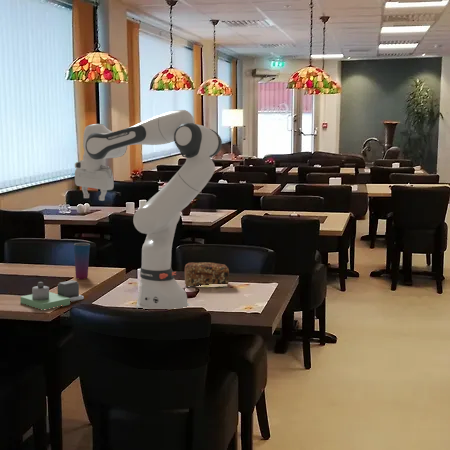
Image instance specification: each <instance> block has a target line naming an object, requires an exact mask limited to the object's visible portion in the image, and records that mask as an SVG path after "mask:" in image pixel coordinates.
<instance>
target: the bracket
mask: <svg viewBox="0 0 450 450" xmlns="http://www.w3.org/2000/svg"><path fill="white" fill-rule="evenodd" d="M69 298H70V301H71V302H76V301H81V300H84V298H85V297H84V295H82V294H79V295H78V296H74V297H69ZM71 302H70V303H71Z"/></svg>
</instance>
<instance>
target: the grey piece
mask: <svg viewBox="0 0 450 450" xmlns="http://www.w3.org/2000/svg"><path fill="white" fill-rule="evenodd" d="M57 294H58V295H61V296H65V297H68V298H69V297H74V296H78V295H80V283H79V282H78V281H77V280H73V279H72V280H67V281H61V282H58V284H57Z"/></svg>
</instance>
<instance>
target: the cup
mask: <svg viewBox="0 0 450 450" xmlns="http://www.w3.org/2000/svg"><path fill="white" fill-rule="evenodd" d="M73 249H74V267H75V279H76V278H79V279H78V280H85V279H84V278H87V277H88V276H89V262H90V249H91V244H90V243H88V242H75V243H73ZM88 278H89V277H88ZM88 278H87V279H88Z"/></svg>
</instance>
